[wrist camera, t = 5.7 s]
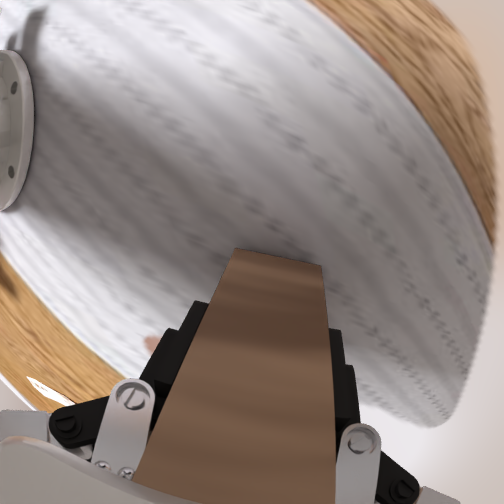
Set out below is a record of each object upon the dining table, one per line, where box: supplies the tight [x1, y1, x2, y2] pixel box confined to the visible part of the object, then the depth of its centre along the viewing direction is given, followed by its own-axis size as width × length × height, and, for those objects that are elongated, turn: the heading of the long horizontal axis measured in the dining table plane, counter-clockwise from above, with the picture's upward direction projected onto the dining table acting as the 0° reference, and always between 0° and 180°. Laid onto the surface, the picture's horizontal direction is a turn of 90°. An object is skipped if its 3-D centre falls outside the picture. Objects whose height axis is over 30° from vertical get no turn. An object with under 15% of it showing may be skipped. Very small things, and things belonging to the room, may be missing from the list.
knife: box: [26, 376, 75, 406], centre depth 28 cm, size 30×2×8 cm
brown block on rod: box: [132, 248, 336, 504], centre depth 12 cm, size 20×6×12 cm, turn 171°
